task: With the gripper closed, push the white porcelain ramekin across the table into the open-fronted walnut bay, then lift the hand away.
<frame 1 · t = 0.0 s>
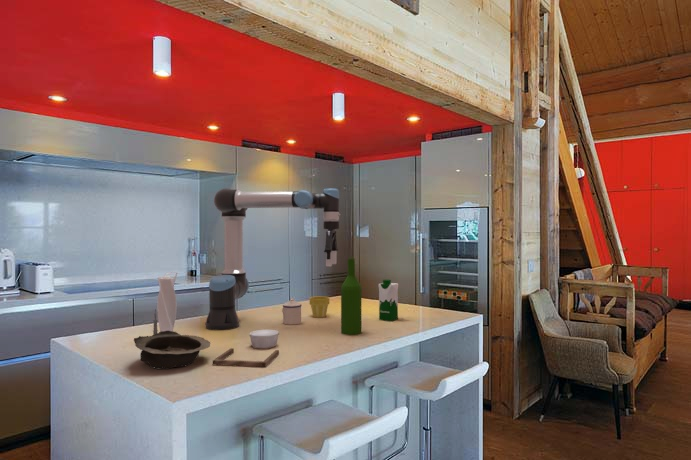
hand: (331, 265, 215), 28 cm above the worktop, fingers open, 13 cm apart
teacup with lid: (290, 322, 217), on the worktop
milk carton: (388, 319, 224), on the worktop
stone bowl: (173, 363, 153), on the worktop
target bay: (247, 358, 157), on the worktop
ramekin: (264, 346, 174), on the worktop
wine bottle: (351, 333, 196), on the worktop
skyscraper: (166, 340, 184), on the worktop
plant pot: (319, 316, 232), on the worktop
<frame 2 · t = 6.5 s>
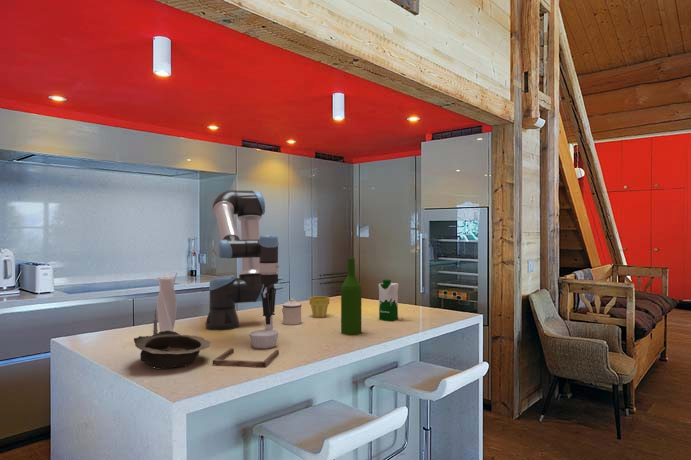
hand: (269, 331, 180), 4 cm above the worktop, fingers closed
ramekin: (263, 346, 174), on the worktop, touching gripper
everything else where it was.
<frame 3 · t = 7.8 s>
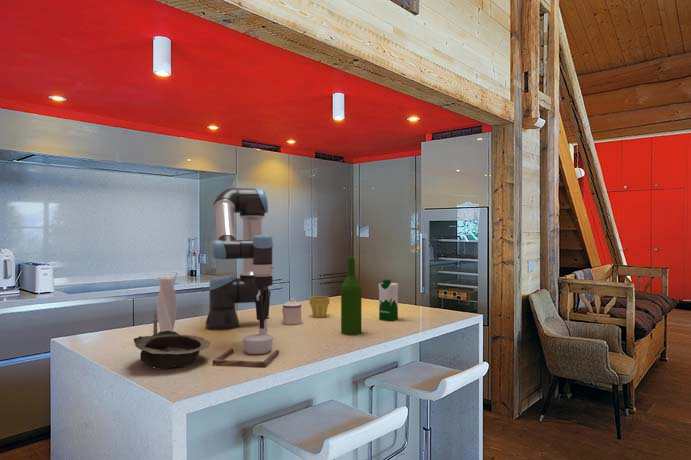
hand: (262, 336, 173), 4 cm above the worktop, fingers closed
ramekin: (258, 351, 166), on the worktop, touching gripper
everything else where it was.
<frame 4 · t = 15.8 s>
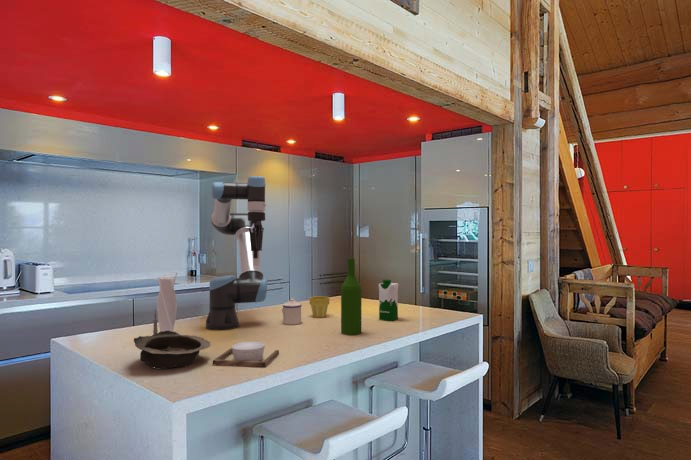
hand: (256, 265, 195), 29 cm above the worktop, fingers closed
ramekin: (248, 361, 155), on the worktop
everything else where it was.
at the end: ramekin 1.3 cm off-centre on the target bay, point 0.0 cm above the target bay's base; ramekin tilted 0° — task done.
